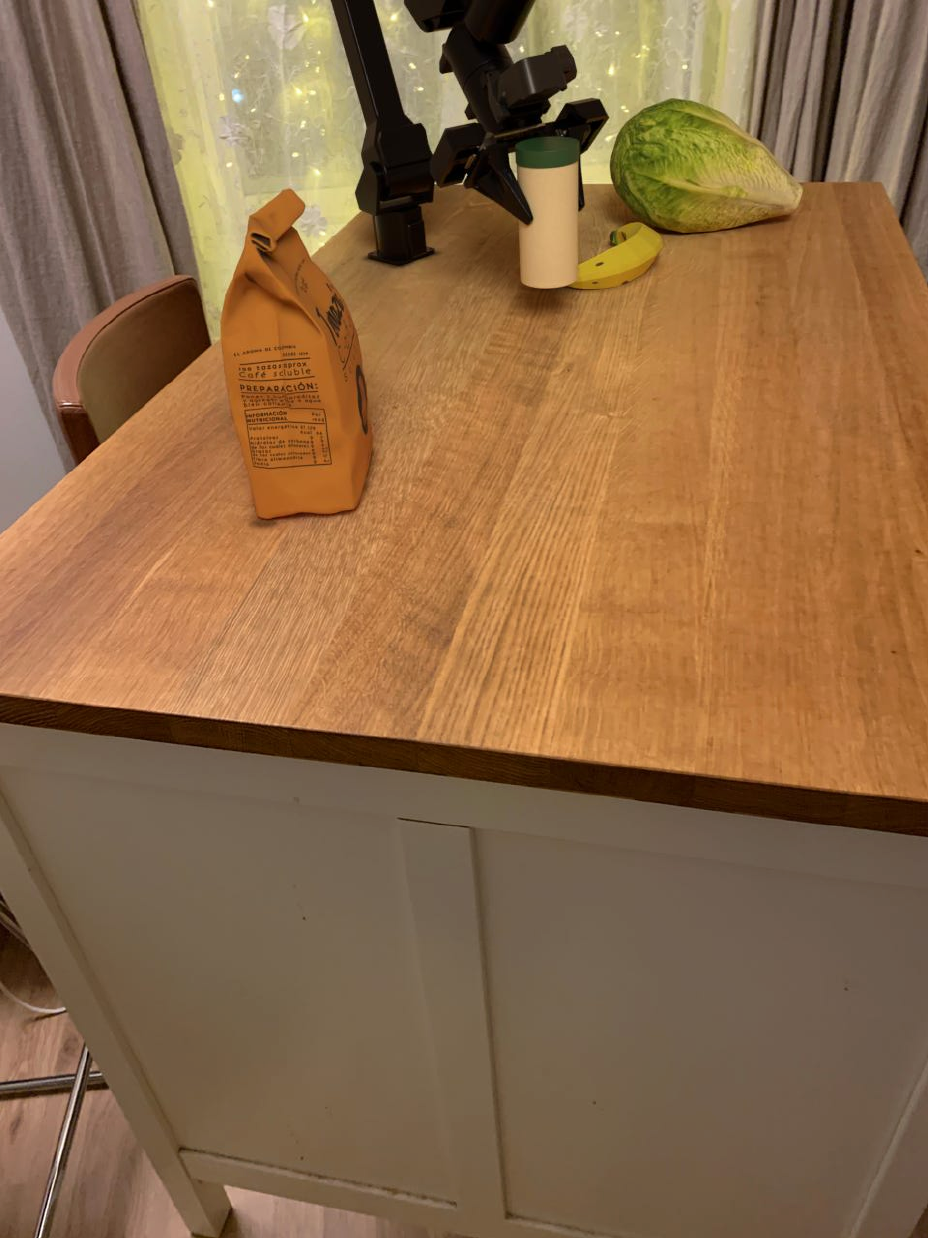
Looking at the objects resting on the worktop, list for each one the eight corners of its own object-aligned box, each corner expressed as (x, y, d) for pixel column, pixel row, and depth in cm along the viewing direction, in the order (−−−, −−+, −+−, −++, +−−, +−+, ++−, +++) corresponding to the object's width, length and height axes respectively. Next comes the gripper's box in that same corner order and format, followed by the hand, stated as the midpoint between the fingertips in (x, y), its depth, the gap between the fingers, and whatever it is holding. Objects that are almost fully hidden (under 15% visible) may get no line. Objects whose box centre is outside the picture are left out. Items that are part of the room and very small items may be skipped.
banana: (656, 207, 122) (537, 232, 125) (665, 240, 108) (531, 268, 111) (660, 244, 124) (544, 268, 127) (670, 282, 110) (538, 307, 113)
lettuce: (774, 235, 135) (776, 284, 124) (602, 182, 135) (588, 226, 124) (824, 123, 125) (832, 166, 113) (638, 66, 125) (627, 103, 113)
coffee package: (393, 449, 84) (358, 179, 71) (363, 527, 75) (314, 229, 61) (283, 450, 86) (228, 185, 73) (239, 525, 76) (165, 235, 63)
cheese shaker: (511, 286, 101) (506, 150, 93) (530, 267, 105) (526, 135, 97) (569, 290, 99) (568, 151, 91) (586, 270, 103) (587, 136, 95)
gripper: (433, 30, 87) (508, 183, 86) (598, 3, 94) (669, 144, 93) (400, 116, 97) (467, 254, 96) (551, 86, 104) (615, 214, 104)
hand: (556, 215), depth 97 cm, fingers closed on cheese shaker, 6 cm apart
